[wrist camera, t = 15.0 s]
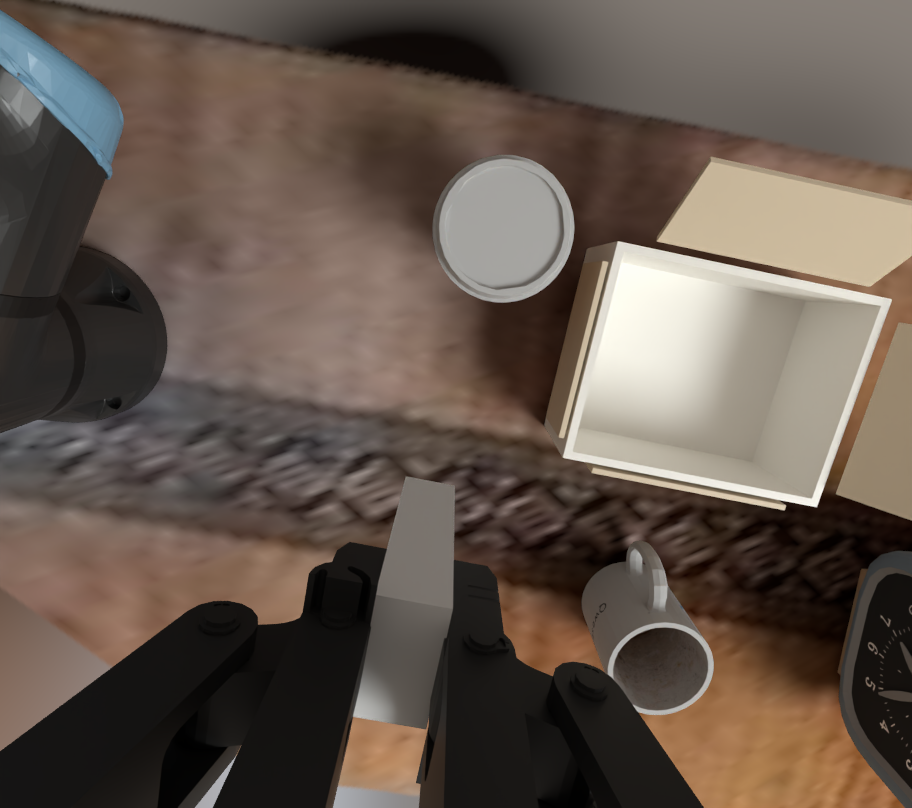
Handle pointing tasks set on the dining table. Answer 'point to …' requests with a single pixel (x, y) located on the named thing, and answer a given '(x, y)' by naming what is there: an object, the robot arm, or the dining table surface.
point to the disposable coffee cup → (503, 228)
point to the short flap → (885, 437)
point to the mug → (646, 634)
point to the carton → (709, 375)
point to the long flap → (792, 223)
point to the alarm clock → (881, 671)
